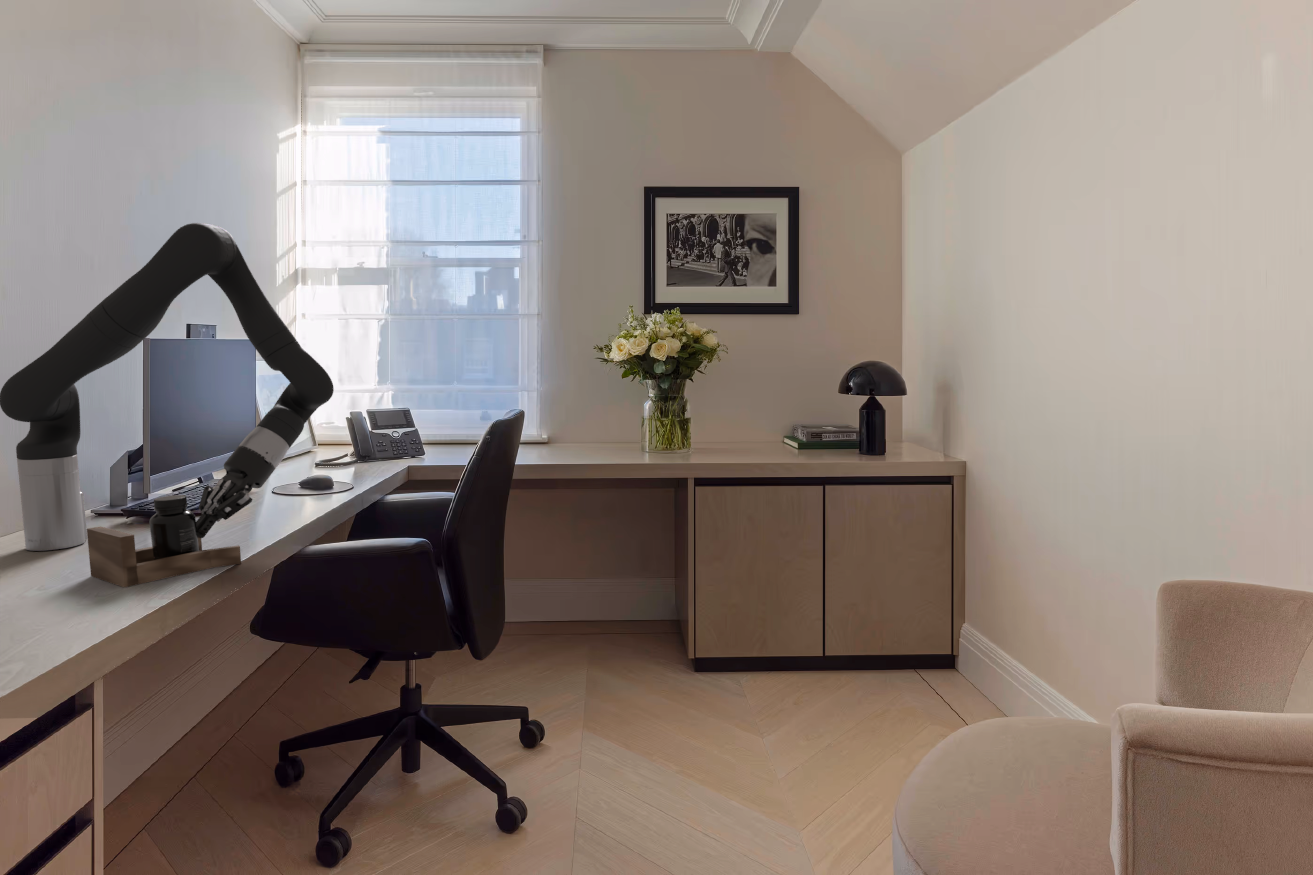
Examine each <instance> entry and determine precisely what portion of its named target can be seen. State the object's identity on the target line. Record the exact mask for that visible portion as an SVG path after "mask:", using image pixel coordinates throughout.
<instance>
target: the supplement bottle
mask: <svg viewBox="0 0 1313 875" xmlns="http://www.w3.org/2000/svg"><path fill="white" fill-rule="evenodd" d="M153 504H154V505H153V506H154V507H153V510H154V511H155V512H156V513H155V514H154V515H151V517H150V519H149V522H148V523H149V532H150V539H151V547H152V549H153V557H154V560H157V559H162V558H167V557H172V556H177V555H182V554H187V553H191V552H196V551H199V545H198V536H197V527H196V521H197V520H196V515H195V514H194V512H193V511H191V510H189V509H187V508H188V506H189V505H188V501H187V496H186V495H185V494H184V495H183V494H174V495H173V494H172V495H165V496H159V497H157V498H155V499H153Z"/></svg>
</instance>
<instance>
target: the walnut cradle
mask: <svg viewBox="0 0 1313 875" xmlns="http://www.w3.org/2000/svg"><path fill="white" fill-rule="evenodd" d="M86 529H87V544H88V545H87V546H88V548H87V549H88V557H89V567H90V569H89V570H90V577H92V578H94V579H98V580H101V581H104V582H107V583H110V584H113V585H117V586H119V587H122V588H128V587H133V586H137V585H141V584H147V583H151V582H155V581H159V580H164V579H168V578H172V577H176V576H182V575H186V574H190V573H196V572H199V571H204V570H205V571H206V570H209V569H212V568H213V569H214V568H221V567H227V566H234V565H240V564H242V558H241V557H242V555H241V546H240V544H239V545H232V546H224V547H215V548H209V549H203V543H202V538H198V545H199V551H196V552H191V553H187V554H182V555H177V556H172V557H167V558H162V559H157V560H154V557H153V549H152V546H148V547H143V548H137V549H136V541H135V534H132V533H127V532H124V531H121V530H120V531H119V530H116V529H112V528H109V527H104V526H95V527H89V528H86Z"/></svg>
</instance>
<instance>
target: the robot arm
mask: <svg viewBox="0 0 1313 875" xmlns="http://www.w3.org/2000/svg"><path fill="white" fill-rule="evenodd" d="M205 276H209V277H210V279H211V280H212V281H213V282H214V283H215V284H216V285H217V286H218V287H219V288H220V290H221V291H222V292H223V293H224V294H225V296H226V297H227V299H228V300H229V302H230V303H231V305H232V307H233V309H234V311H235V313H236V316H237V319H238V320H239V323H240V325H241V328H242V329H243V331H244V333H245V335H246V337H247V338H248V340H249V342H250V343H251V345H252V346H253V347H254V349H255V350H256V351H257V353H258V354H259V356H261V358H262V359H263V360H264V362H265V364H266V365H267V366H268V367H269V368H270V369H272V371H276V372H280V373H281V374H282V375H283V376H284V377H285V378H286V380H287V381H288V382H289V384H288V385H287V386H286V387H285V389H284V390H283V391H282V393H281V394H280V396H279V397H278V398H277V400H276V402H275V404H274V405H273V407H272V408H270V410H269V411H268V412H267V413H266V414H265V415H264V417H263V418H262V419H261V420H260V421H259V423H257V425H256V426H255V428H253V429H252V430H251V431H250V432H249V433H248V434H247V435H246V436H245V437H244V439H243V440H242V441H241V442H240V443H239V445H238V446H237V447H236V449H235V450H234V451H232V453H231V455H230V456H228V458H227V459H226V461H225V462H224V463H223V469H224V470H225V472H226V473H225V475H223V477H221V478H220V479H219V480H218V482H217V483H216V484H215V485H214V486H213V487H212V486H210V485H206V486H205V487H204V488H203V492H202V495H201V497H200V501H199V505H198V511H201V512H200V513H201V515H200V516H199V518H197V520H196V527H197V536H198V538H201V539H204V538H205V537H206V535H207V534H208V533H209V531H210V530H211V529H212V528H213V526H214V525H216V522H217V523H219V522H220V521H221V520H224V521H226V520H229V519H230V518H231V517H232V516H234V515H235V514H237V513H238V512H239V511H241V510H242V509H244V508H245V507H247V506H249V504H251V503H252V502H253V498H252V497H251V496H250V495H249V494H250V493H251V491H252V489H261V488H262V487H263V486H264V485H265V483H266V482H267V480H268V479H269V478H270V476H271V475H272V474H273V473H274V472H275V470H276V469H277V467H278V466H279V465H280V464H281V462H282V461H283V460H284V458H285V456H286V454H287V453H288V451H289V450H290V449H291V447H292V446H293V445H294V443H295V442H296V441H297V439H298V438H299V437H300V435H301V434H302V432H303V431H304V428H305V424H306V423H307V421H308V420H310V418H311V416H312V415H313V414H314V413H315V412H316V411H317V410H318V409H319V408H320V407H322V405H324V404H326V403H327V402H329V400H331V398H332V397H333V395H334V390H335V389H334V384H333V381H332V380H333V379H331V376H330V375H329V374H328V372H327V371H326V369H325V368H324V367H322V365H321V364H320V363H319V362H318V361H317V360H316V359H315V358H313V356H312V355H311V354H309V353H308V352H307V351H305V350H304V348H302V347H303V346H301V345H300V342H299V341H298V340H297V339H296V338H295V336H294V334H293V333H292V332H291V330H290V329H289V328H288V326H287V325H286V324H285V323H284V321H283V320H282V318H281V316H280V315H279V314H278V313H277V311H276V310H275V308H274V307H273V306H272V304H271V303H270V301H269V300H268V298H267V297H266V295H265V293H264V291H262V289H261V287H260V285H259V284H258V282H257V280H256V278H255V277H254V274H253V273H252V272H251V269H250V268H249V266H248V263H247V262H246V260H245V258H244V256H243V254H242V252H241V250H240V248H239V246H238V244H237V242H236V241H235V238H234V237H233V236H232V234H231V233H230V232H229V231H228V230H226V229H225V228H223V227H221V226H219V225H216V224H211V223H202V222H192V223H191V222H190V223H187V224H184V225H183V226H180V227H179V228H178V229H177V230H175V231H174V232H173V233H172V234H171V235H170V237H169V238H168V239H167V240H166V241H165V243H164V244H162V246H161V247H160V248H159V249H158V250H157V252H156V253H155V254H154V255H153V256H152V257H151V258H150V259H149V261H147V263H146V264H145V265H143V266H142V268H141V269H140V270H138V271H137V272H136V273H135V274H133V275H132V276H130V277H129V278H128V279H127V280H125V282H123V283H122V284H120V286H118V287H117V288H116V289H115V290H113V291H112V292H111V293H110V294H109V295H108V296H106V297H105V298H104V299H103V300H101V302H99V303H98V304H97V305H96V306H95V307H94V308H93V309H92V310H91V311H89V312H88V313H87V314H86V315H85V316H84V317H83V318H82V319H81V320H80V321H78V323H77V324H76V325H75V326H73V327H72V328H71V329H70V330H68V331H67V333H66V334H64V336H62V337H61V338H60V339H59V340H58V341H57V342H56V343H55V344H54V345H52V347H51V348H49V349H48V350H46V351H45V352H44V353H43V354H41V355H40V356H39V357H37V358H36V359H34V360H33V361H32V362H30V363H29V364H27V365H26V366H25V367H23V368H22V369H20V370H18V371H17V372H16V373H14V374H13V375H12V376H10V377H9V378H8V379H7V380H6V382H4V384H3V386H2V387H1V389H0V409H1V410H2V412H3V413H4V414H5V415H6V416H7V417H8V418H10V419H12V420H15V421H18V422H23V423H29V431H28V432H27V434H26V435H25V437H24V438H23V439H21V440H20V441H19V442H18V443H17V444H16V447H15V448H16V449H15V452H16V458H17V459H16V463H17V472H18V483H19V484H18V485H19V493H20V505H21V514H22V522H23V523H22V524H23V536H24V544H25V546H24V547H25V550H26V551H31V552H33V551H41V552H42V551H44V552H45V551H52V550H53V551H54V550H59V549H61V550H62V549H67V548H72V547H73V548H74V547H76V546H80V545H82V544H84V543H85V542H86V540H87V541H88V537H87V529H88V528H87V519H86V509H85V498H84V497H85V496H84V493H83V492H82V491H81V482H80V480H81V479H80V471H79V470H80V469H79V460H78V451H77V450H78V445H79V442H80V438H81V408H80V407H81V406H80V396H79V393H78V392H79V391H78V389H77V387H76V385H75V384H76V383H77V382H79V381H80V380H81V379H83V378H84V377H86V376H87V375H89V374H91V373H93V372H95V371H97V370H99V369H101V368H103V367H105V366H107V365H109V364H111V363H113V362H114V361H117V360H118V359H120V358H122V357H124V356H125V355H127V354H128V353H129V352H131V351H132V350H133V349H135V348H136V347H137V346H138V345H139V344H140V343H141V342H142V341H144V340H145V339H146V338H147V337H148V336H149V335H150V334H151V333H152V332H153V331H154V330H155V329H156V328H157V326H159V324H160V322H161V321H162V319H163V318H164V316H165V314H166V312H167V311H168V310H169V307H170V306H171V304H172V303H173V302H174V300H175V299H176V298H177V297H178V296H179V295H180V294H181V293H182V292H184V291H186V289H187V288H189V287H190V286H192V285H193V284H194V283H196V282H197V281H199V280H200V279H202V278H203V277H205Z"/></svg>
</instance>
